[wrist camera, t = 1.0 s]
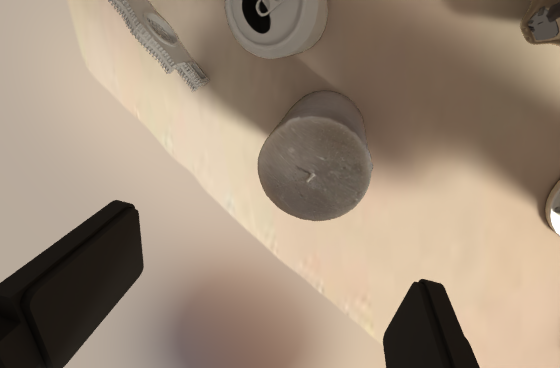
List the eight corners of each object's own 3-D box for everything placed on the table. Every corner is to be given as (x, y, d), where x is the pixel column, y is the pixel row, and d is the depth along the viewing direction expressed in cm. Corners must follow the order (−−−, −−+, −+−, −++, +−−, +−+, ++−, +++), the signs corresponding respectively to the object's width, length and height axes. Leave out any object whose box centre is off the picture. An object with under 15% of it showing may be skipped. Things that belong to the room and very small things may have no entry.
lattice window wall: (212, 80, 36) (189, 87, 31) (203, 89, 37) (179, 97, 32) (146, -7, 34) (109, -15, 28) (137, 4, 34) (100, -1, 29)
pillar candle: (306, 175, 39) (285, 243, 26) (272, 110, 36) (230, 151, 23) (376, 147, 36) (393, 210, 22) (345, 73, 33) (343, 96, 19)
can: (247, 7, 32) (196, -8, 21) (303, -46, 29) (274, -94, 18) (286, 67, 34) (255, 80, 23) (342, 24, 30) (336, 16, 20)
